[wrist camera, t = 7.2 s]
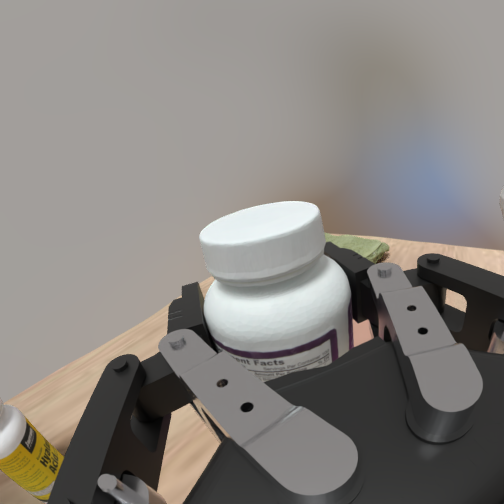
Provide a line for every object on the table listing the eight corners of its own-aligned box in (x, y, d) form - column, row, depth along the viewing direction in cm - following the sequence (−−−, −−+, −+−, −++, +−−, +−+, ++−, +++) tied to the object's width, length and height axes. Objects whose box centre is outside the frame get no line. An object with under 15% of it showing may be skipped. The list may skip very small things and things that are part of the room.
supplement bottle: (86, 493, 13) (-5, 410, 9) (42, 513, 10) (-51, 436, 6) (70, 450, 17) (-1, 369, 13) (31, 471, 14) (-42, 394, 10)
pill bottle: (282, 361, 16) (244, 198, 13) (368, 382, 13) (361, 191, 10) (225, 426, 12) (146, 247, 9) (322, 468, 9) (289, 257, 6)
